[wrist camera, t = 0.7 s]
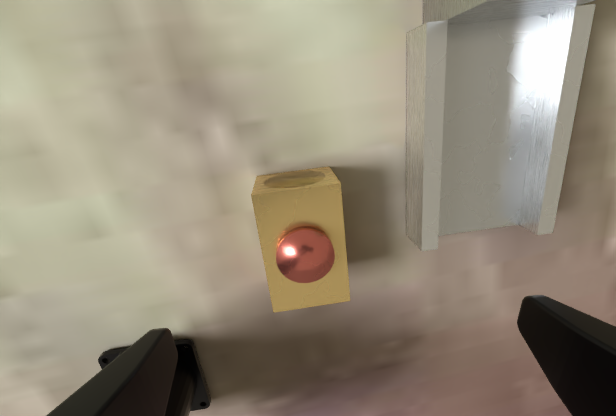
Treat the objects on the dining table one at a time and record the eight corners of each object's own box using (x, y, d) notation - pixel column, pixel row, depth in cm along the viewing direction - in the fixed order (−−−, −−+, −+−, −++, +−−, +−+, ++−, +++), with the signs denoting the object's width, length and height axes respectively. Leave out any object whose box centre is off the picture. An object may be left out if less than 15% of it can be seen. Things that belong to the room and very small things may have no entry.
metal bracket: (523, 218, 21) (601, 257, 16) (406, 234, 21) (447, 279, 15) (606, -344, 12) (834, -652, 7) (407, -331, 12) (500, -646, 7)
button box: (337, 264, 21) (352, 307, 17) (274, 274, 21) (273, 319, 17) (328, 165, 19) (343, 186, 14) (257, 175, 19) (250, 199, 14)
